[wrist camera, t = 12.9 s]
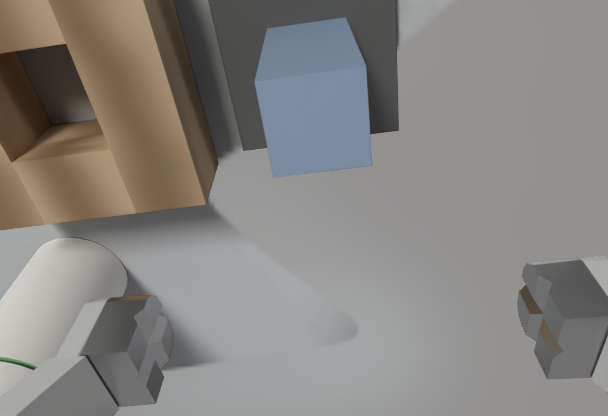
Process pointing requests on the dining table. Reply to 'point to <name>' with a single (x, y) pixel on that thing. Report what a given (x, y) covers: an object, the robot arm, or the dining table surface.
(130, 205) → the pocket block
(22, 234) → the dining table surface
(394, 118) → the mat
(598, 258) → the robot arm
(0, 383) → the cylindrical container
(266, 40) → the blue block
